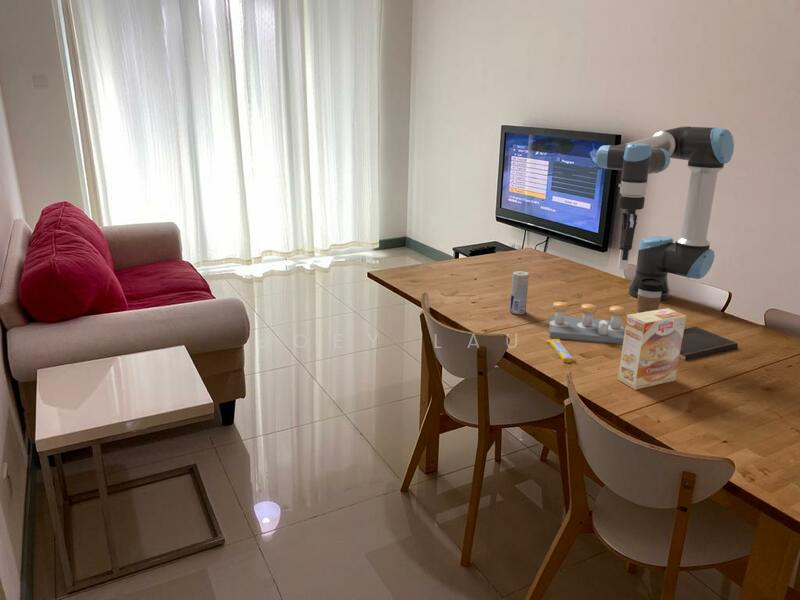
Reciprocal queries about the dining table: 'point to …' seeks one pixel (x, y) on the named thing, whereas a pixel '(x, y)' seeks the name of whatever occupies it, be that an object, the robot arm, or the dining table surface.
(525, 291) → the beverage can
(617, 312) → the knob near
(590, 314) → the knob middle
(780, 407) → the dining table surface
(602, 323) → the pot dial
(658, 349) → the coffeecake box
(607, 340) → the mount board
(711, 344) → the hardcover book
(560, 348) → the candy bar
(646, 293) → the coffee cup
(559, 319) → the knob far
